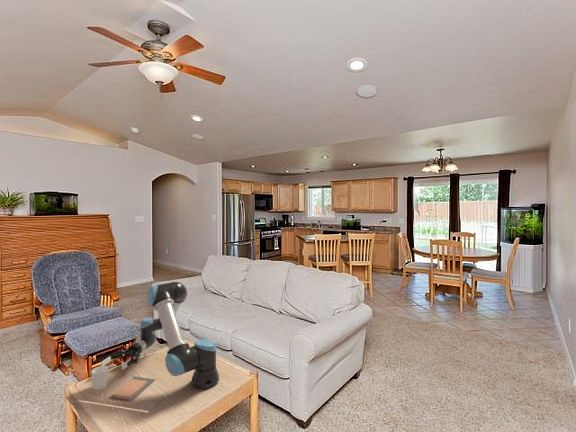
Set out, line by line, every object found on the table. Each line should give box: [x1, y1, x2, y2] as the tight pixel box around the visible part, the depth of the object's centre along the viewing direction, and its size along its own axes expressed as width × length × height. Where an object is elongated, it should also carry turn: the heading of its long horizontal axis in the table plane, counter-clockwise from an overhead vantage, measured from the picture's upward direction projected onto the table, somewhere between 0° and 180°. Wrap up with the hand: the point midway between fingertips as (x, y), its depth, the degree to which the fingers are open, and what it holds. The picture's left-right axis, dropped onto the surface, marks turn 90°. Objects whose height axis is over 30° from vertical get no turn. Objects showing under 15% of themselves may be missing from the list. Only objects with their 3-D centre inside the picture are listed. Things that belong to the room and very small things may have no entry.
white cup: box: [90, 365, 109, 391], centre depth 166 cm, size 8×8×10 cm
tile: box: [112, 378, 147, 400], centre depth 163 cm, size 10×2×14 cm
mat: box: [107, 376, 157, 403], centre depth 165 cm, size 14×20×1 cm
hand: (111, 365), depth 174 cm, fingers open, 13 cm apart
